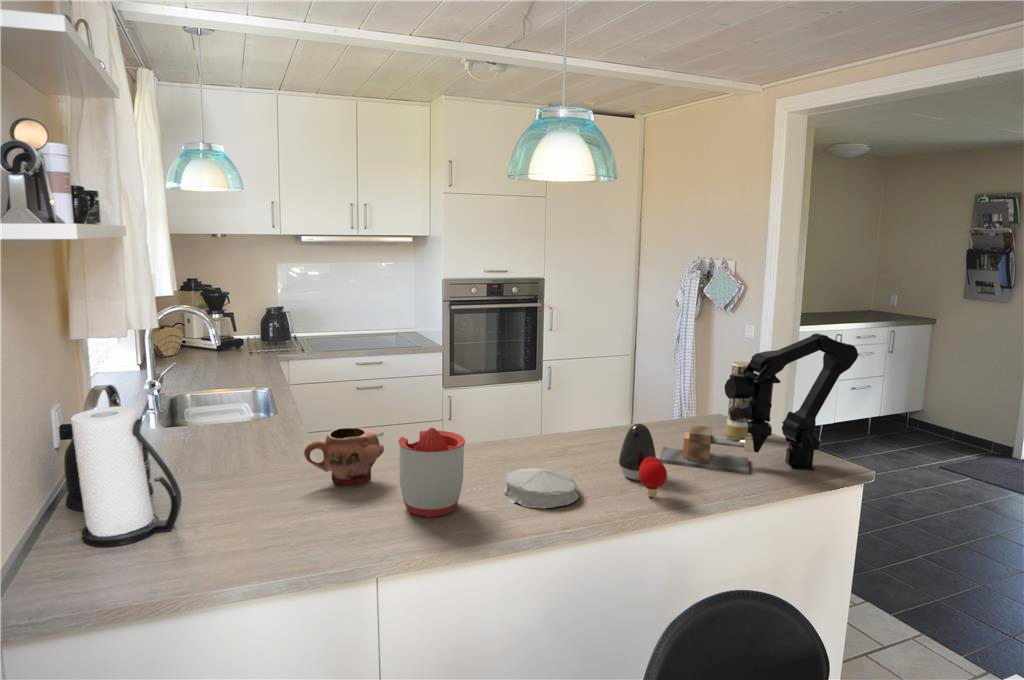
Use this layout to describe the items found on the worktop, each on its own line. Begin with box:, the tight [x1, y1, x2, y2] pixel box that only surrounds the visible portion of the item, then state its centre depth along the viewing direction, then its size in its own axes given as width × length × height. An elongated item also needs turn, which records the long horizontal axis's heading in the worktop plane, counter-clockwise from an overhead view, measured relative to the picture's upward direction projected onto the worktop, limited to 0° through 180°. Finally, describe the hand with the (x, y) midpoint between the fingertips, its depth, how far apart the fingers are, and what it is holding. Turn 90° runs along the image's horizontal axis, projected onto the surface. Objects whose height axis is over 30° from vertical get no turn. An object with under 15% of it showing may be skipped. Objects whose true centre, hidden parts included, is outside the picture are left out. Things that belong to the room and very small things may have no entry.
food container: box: [503, 467, 580, 510], centre depth 171 cm, size 20×20×7 cm
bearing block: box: [658, 424, 750, 475], centre depth 198 cm, size 25×12×10 cm, turn 72°
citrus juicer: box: [398, 427, 466, 518], centre depth 159 cm, size 16×17×20 cm
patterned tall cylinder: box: [725, 361, 750, 439], centre depth 223 cm, size 7×7×25 cm
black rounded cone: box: [618, 423, 657, 481], centre depth 183 cm, size 10×10×15 cm
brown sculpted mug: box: [303, 427, 385, 488], centre depth 172 cm, size 20×12×14 cm, turn 115°
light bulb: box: [638, 456, 668, 499], centre depth 170 cm, size 9×7×10 cm
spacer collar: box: [682, 432, 690, 459], centre depth 200 cm, size 1×6×6 cm, turn 162°
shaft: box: [711, 435, 756, 454], centre depth 196 cm, size 18×4×4 cm, turn 72°
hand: (755, 450), depth 194 cm, fingers closed on shaft, 4 cm apart
